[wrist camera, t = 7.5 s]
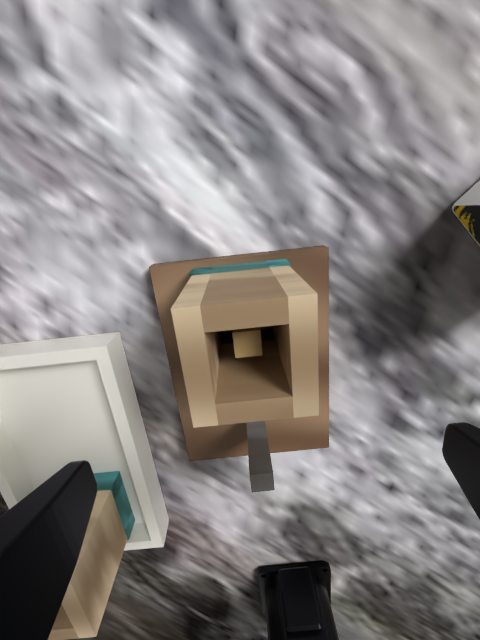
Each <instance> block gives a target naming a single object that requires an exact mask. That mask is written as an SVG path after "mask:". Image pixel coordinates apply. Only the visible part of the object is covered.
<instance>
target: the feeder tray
mask: <svg viewBox="0 0 480 640" xmlns="http://www.w3.org/2000/svg"><path fill="white" fill-rule="evenodd" d="M81 460H86V461H88V462H89V463H90V465H91V468H92V471H93V473H102V472H112V471H120V474H121V477H122V480H123V483H124V487H125V490H126V493H127V496H128V499H129V502H130V505H131V509H132V512H133V515H134V518H135V522H134V526H133V529H132V532H131V535H130V538H129V540H127V542H126V545H125V548H124V551H125V550H135V549H146V548H156V547H164V543H165V538H166V533H167V528H168V523H169V518H168V514H167V510H166V506H165V503H164V499H163V495H162V491H161V487H160V484H159V480H158V476H157V472H156V468H155V465H154V461H153V457H152V453H151V450H150V446H149V442H148V438H147V434H146V431H145V427H144V423H143V419H142V415H141V412H140V408H139V404H138V400H137V397H136V393H135V389H134V385H133V381H132V378H131V374H130V370H129V366H128V362H127V359H126V355H125V351H124V347H123V343H122V340H121V336H120V332H114V333H105V334H96V335H86V336H77V337H67V338H58V339H48V340H39V341H29V342H20V343H10V344H1V345H0V492H1V494H2V496H3V498H4V500H5V502H6V504H7V506H8V508H9V509H11V508H12V507H13V506H14V505H16V504H17V503H18V502H19V501H21V500H22V499H23V498H25V497H26V496H27V495H28V494H30V493H31V492H32V491H33V490H35V489H36V488H37V487H39V486H40V485H41V484H42V483H44V482H45V481H46V480H47V479H49V478H50V477H51V476H53V475H54V474H55V473H56V472H58V471H59V470H60V469H61V468H63V467H64V466H65V465H67V464H68V463H70V462H72V461H81Z"/></svg>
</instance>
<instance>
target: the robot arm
mask: <svg viewBox="0 0 480 640" xmlns="http://www.w3.org/2000/svg"><path fill="white" fill-rule="evenodd" d="M442 452H443V456H444V459H445V461H446V463H447V465H448V466H449V468H450V470H451V471H452V473H453V475H454V477H455V478H456V480H457V482H458V483H459V485H460V487H461V489H462V490H463V492H464V494H465V495H466V497H467V499H468V501H469V502H470V504H471V506H472V508H473V509H474V511H475V513H476V514H477V516H478V518H479V519H480V428H477V427H475V426H473V425H471V424H469V423H464V422H462V423H452V424H448V425H447V427H446V429H445V435H444V442H443V448H442ZM96 495H97V482H96V479H95V476H94V474H93V471H92V468H91V465H90V463H89V462H88V461H86V460H81V461H72V462H70V463H68V464H67V465H65V466H64V467H63V468H61V469H60V470H59V471H58V472H56V473H55V474H54V475H53V476H51V477H50V478H49V479H47V480H46V481H45V482H44V483H42V484H41V485H40V486H39V487H37V488H36V489H35V490H33V491H32V492H31V493H30V494H28V495H27V496H26V497H25V498H23V499H22V500H21V501H19V502H18V503H17V504H16V505H14V506H13V507H12V508H11V509H9V510H8V511H7V512H5V513H4V514H3V515H2V516H0V640H48V638H49V635H50V633H51V630H52V627H53V625H54V622H55V619H56V617H57V614H58V612H59V609H60V606H61V604H62V601H63V599H64V596H65V593H66V591H67V588H68V585H69V583H70V580H71V578H72V575H73V572H74V569H75V567H76V564H77V561H78V558H79V554H80V551H81V548H82V544H83V541H84V537H85V534H86V530H87V527H88V523H89V520H90V516H91V513H92V509H93V506H94V502H95V499H96ZM257 572H258V582H259V589H260V597H261V605H262V612H263V615H265V616H266V618H267V630H268V640H339V638H338V634H337V630H336V626H335V622H334V618H333V613H332V609H331V569H330V566H329V563H328V562H315V563H304V564H293V565H283V566H272V567H262V568H259V569H258V571H257Z"/></svg>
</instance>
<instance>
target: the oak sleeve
mask: <svg viewBox="0 0 480 640" xmlns="http://www.w3.org/2000/svg"><path fill="white" fill-rule="evenodd" d="M189 275H190V279H189V281H188V282H187V284H186V285H185V287H184V288H183V290H182V292H181V293H180V295H179V296H178V298H177V300H176V301H175V303H174V304H173V306H172V307H171V313H172V318H173V323H174V329H175V334H176V339H177V344H178V350H179V355H180V360H181V365H182V371H183V376H184V381H185V386H186V391H187V397H188V402H189V407H190V412H191V418H192V423H193V428H196V427H206V426H216V425H226V424H236V423H247V422H257V421H267V420H277V419H287V418H297V417H308V416H318V415H319V377H318V296H317V292H315V291H314V290H313V289H312V288H311V287H310V286H309V285H308V284H307V283H306V282H305V281H304V280H303V279H302V278H301V277H300V276H299V275H298V274H297V273H296V272H295V271H294V270H293V269H292V268H291V263H290V262H289V261H288V260H287V259H279V260H269V261H260V262H250V263H241V264H231V265H222V266H212V267H203V268H194V269H192V271H191V272H190V274H189ZM265 326H271V329H264V330H260V331H261V342H262V354H263V355H261V356H251V357H242V358H235V351H234V343H233V335H232V333H225V334H222V333H221V331H226V330H236V329H245V328H255V327H265Z"/></svg>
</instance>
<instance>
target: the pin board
mask: <svg viewBox="0 0 480 640" xmlns="http://www.w3.org/2000/svg"><path fill="white" fill-rule="evenodd" d="M279 259H287V260H288V261H289V262H290V263H291V268H292V269H293V270H294V271H295V272H296V273H297V274H298V275H299V276H300V277H301V278H302V279H303V280H304V281H305V282H306V283H307V284H308V285H309V286H310V287H311V288H312V289H313V290H314V291H315V292H317V296H318V377H319V415H318V416H308V417H297V418H287V419H277V420H267V421H257V422H247V423H236V424H226V425H216V426H206V427H196V428H193V423H192V418H191V412H190V407H189V402H188V397H187V391H186V386H185V381H184V376H183V371H182V365H181V360H180V355H179V350H178V344H177V339H176V334H175V329H174V323H173V318H172V313H171V307H172V306H173V304H174V303H175V301H176V300H177V298H178V296H179V295H180V293H181V292H182V290H183V288H184V287H185V285H186V284H187V282H188V281H189V279H190V275H189V274H190V272H191V271H192V269H194V268H203V267H212V266H222V265H231V264H241V263H250V262H260V261H269V260H279ZM149 270H150V274H151V279H152V284H153V289H154V294H155V298H156V303H157V308H158V313H159V317H160V322H161V327H162V332H163V336H164V341H165V346H166V351H167V355H168V360H169V365H170V370H171V375H172V379H173V384H174V389H175V394H176V398H177V403H178V408H179V413H180V417H181V422H182V427H183V432H184V436H185V441H186V446H187V451H188V456H189V460H190V461H196V460H206V459H216V458H226V457H236V456H246V455H249V471H250V481H251V489H252V492H260V491H270V490H274V480H273V470H272V464H271V457H270V453H277V452H287V451H297V450H307V449H317V448H327V447H329V247H326V246H314V247H305V248H296V249H287V250H278V251H268V252H259V253H250V254H241V255H232V256H222V257H213V258H204V259H195V260H186V261H177V262H167V263H158V264H153V265H151V266H150V267H149ZM264 329H271V326H265V327H255V328H245V329H236V330H226V331H221V333H222V334H225V333H232V335H233V343H234V351H235V358H242V357H251V356H261V355H263V354H262V342H261V331H260V330H264Z"/></svg>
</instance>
